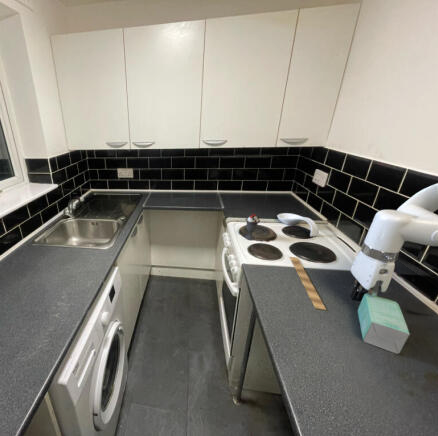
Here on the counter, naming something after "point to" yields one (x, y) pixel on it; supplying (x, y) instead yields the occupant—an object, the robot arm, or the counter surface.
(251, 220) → the sundae
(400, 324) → the box
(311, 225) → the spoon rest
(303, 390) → the counter surface
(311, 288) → the strip
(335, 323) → the counter surface
